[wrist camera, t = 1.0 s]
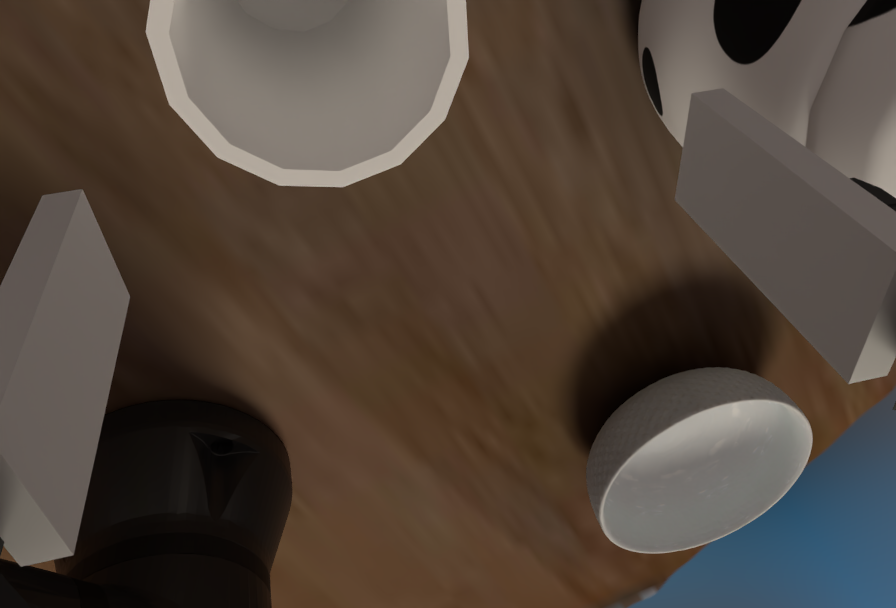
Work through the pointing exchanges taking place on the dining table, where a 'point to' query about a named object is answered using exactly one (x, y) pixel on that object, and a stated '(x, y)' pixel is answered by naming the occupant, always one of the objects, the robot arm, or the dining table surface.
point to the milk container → (783, 71)
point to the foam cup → (310, 80)
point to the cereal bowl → (695, 459)
